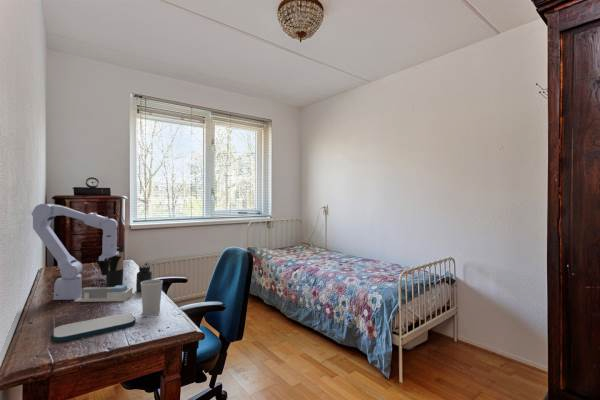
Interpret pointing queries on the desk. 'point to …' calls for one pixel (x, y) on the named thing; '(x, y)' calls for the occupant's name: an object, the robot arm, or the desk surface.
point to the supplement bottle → (143, 276)
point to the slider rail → (108, 296)
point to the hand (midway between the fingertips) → (109, 273)
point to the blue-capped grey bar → (102, 291)
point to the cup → (151, 296)
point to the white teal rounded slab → (92, 327)
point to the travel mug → (116, 276)
